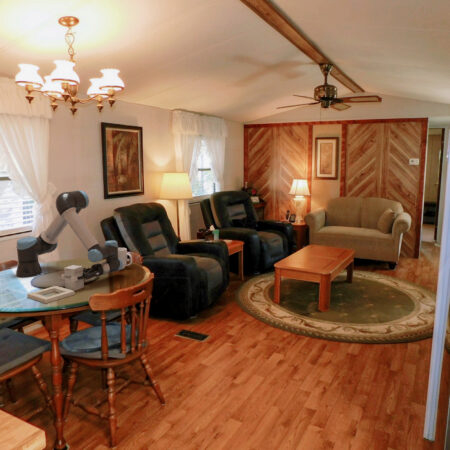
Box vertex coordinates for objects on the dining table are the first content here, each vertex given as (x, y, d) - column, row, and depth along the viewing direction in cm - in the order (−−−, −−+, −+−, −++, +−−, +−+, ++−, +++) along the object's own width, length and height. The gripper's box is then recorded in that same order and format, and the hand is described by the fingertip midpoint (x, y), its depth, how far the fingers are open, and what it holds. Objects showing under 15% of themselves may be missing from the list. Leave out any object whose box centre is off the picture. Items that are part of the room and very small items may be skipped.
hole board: (27, 297, 225) (27, 293, 224) (56, 289, 239) (55, 285, 238) (45, 303, 215) (45, 299, 215) (74, 294, 229) (74, 291, 229)
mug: (135, 266, 286) (134, 248, 284) (129, 271, 275) (128, 251, 273) (114, 266, 288) (113, 247, 286) (107, 270, 277) (106, 250, 275)
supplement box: (65, 289, 238) (63, 267, 236) (74, 285, 245) (73, 264, 243) (75, 290, 235) (73, 269, 233) (84, 287, 242) (83, 265, 240)
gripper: (111, 278, 248) (79, 288, 230) (89, 272, 260) (56, 281, 242) (111, 265, 247) (78, 274, 228) (88, 260, 259) (55, 269, 240)
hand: (66, 278), depth 235 cm, fingers closed on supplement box, 8 cm apart
